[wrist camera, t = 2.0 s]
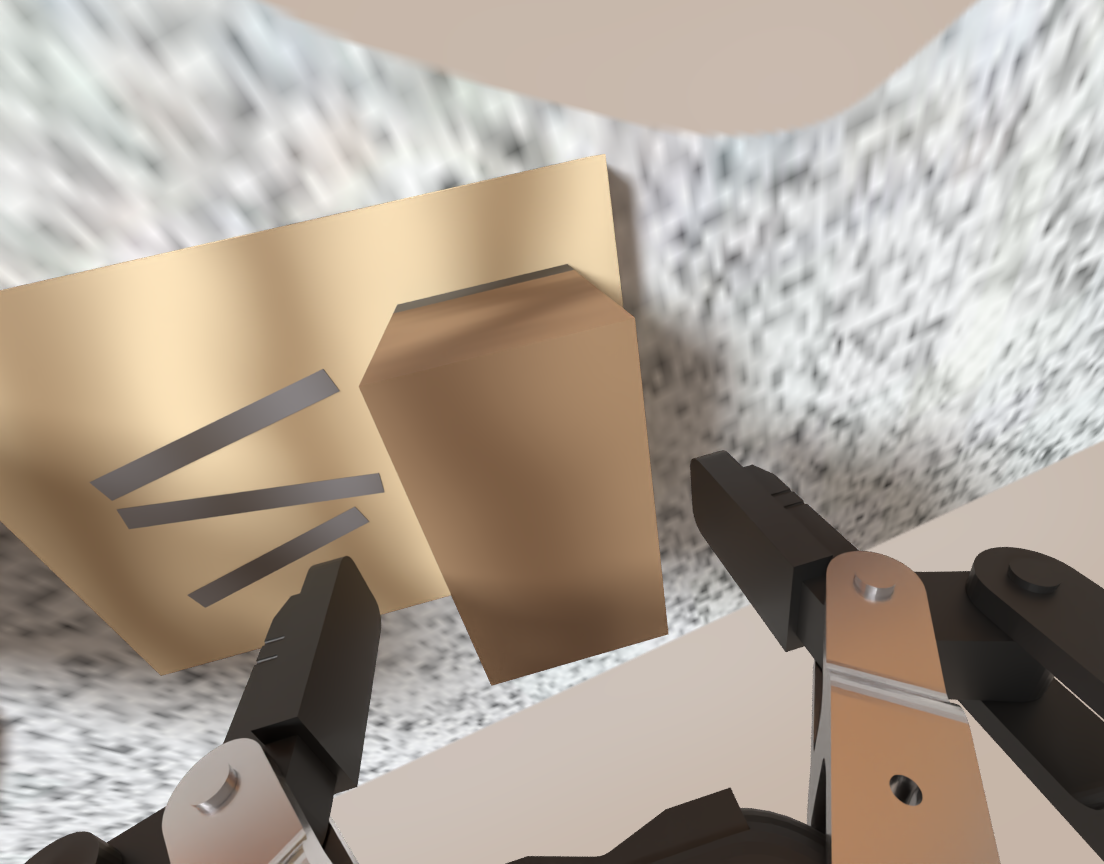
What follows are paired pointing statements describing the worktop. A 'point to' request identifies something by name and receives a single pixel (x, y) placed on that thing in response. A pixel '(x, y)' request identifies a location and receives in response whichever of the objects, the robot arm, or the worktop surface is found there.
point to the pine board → (250, 405)
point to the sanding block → (526, 464)
